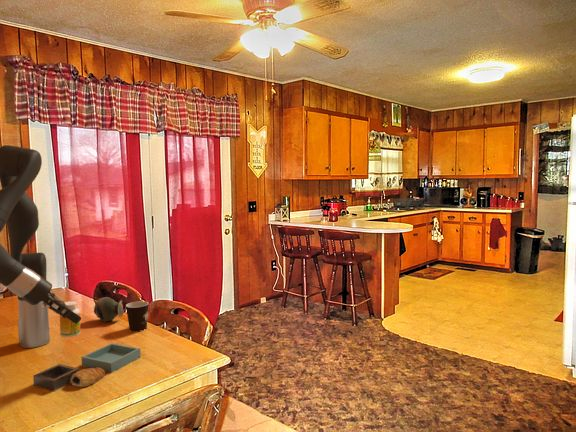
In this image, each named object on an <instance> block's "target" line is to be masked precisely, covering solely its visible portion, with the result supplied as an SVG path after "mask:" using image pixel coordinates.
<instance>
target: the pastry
mask: <svg viewBox="0 0 576 432" xmlns="http://www.w3.org/2000/svg"><path fill="white" fill-rule="evenodd" d="M105 376H106V371H104V370H103V369H102V368H99V367H97V368H84V369H81V370H79V371H77V372H76V373H75V374H73V376H72V377H71V379H70V382H71V383H70V384H71V385H72V386H74V387H79V388H86V387H88V386H91V385H92V384H93V385H94V384H96V383H97V382H99V381H101V380H102V379H103V378H104V377H105Z"/></svg>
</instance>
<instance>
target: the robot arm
mask: <svg viewBox="0 0 576 432" xmlns="http://www.w3.org/2000/svg"><path fill="white" fill-rule="evenodd" d="M42 159H43V158H42V156H41V153H40V152H39V151H38V150H36V149H34V148H33V149H31V148H28V147H23V146H17V145H15V146H14V145H9V144H7V145H6V144H5V145H4V144H3V145H1V146H0V186H1V189H0V233H2V231H3V229H4V227H7V228H6V229H7V233H8V240H9V252H8V250H6V249H5V247H4V246H3V245H2V244H1V243H0V284H1V285H2V286H4V287H5V288H7V289H8V290H9V291H10V292H11V293H13V294H14V295H15V296H17V306H18V318H17V330H18V331H17V332H18V344H19V345H20V347H21V348H23V349H24V348H25V349H29V348H30V349H33V348H38V347H43V346H45V345H46V344H48V343H50V340H51V339H50V337H51V335H50V318H49V310H50V311H52V312H54V313H56V314H58V315H59V316H60V315H61V316H62V317H63V318H68V319H69V320H71V321H72V322H74V323H75V324H77V323H78V322H79V321H80V322H81V320H82V316H81V315H80V316H78V315H77V314H76V313H74V312H73V311H72V310H71V309H69V308H68V307H66V304H65V301H64V300H63V299H61V297H59V296H58V295H57V294H56V293H55V292H51V291H52V288H53V284H52V283H51V282H50V281H48V280H47V257H46V255H45V253H44V252H29V253H23V250H24V248H25V247H26V245H27V243H29V241H30V240H31V238H32V237H33V236H35V234H36V232H37V230H38V228H39V225H40V221H39V210H38V207H37V205H36V203H35V201H34V200H33V199H32V198H31V197H30V195H28V193H27V190H29V188H30V186H31V185H32V184H33V182H34V181H35V180H36V178H37V176H38V175H39V173H40V171H41V168H42V165H43V164H42V163H43V161H42ZM64 309H65V310H67V311H66V312H65V313H64V314H63V313H62V311H63V310H64Z"/></svg>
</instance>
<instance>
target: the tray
mask: <svg viewBox="0 0 576 432" xmlns="http://www.w3.org/2000/svg"><path fill="white" fill-rule="evenodd" d="M141 357H142V356H141V348H139V347H133V346H129V345H124V344H123V345H122V344H119V343H114V342H110V343H109V344H107V345H105V346H102V347H101V348H98V349H96V350H93V351H91V352H89V353H86V354H85V355H83V356H81V357H80V358H81V366H82V367H84V368H87V369H89V368H97V367H99V368H102V369H103V370H104V371H105V373H111V374H112V373H115V372H116V371H118V370H119V369H122V368H123V367H125V366H127V365H129V364H130V363H133V362H135V361H137V360H138V359H140V358H141Z"/></svg>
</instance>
